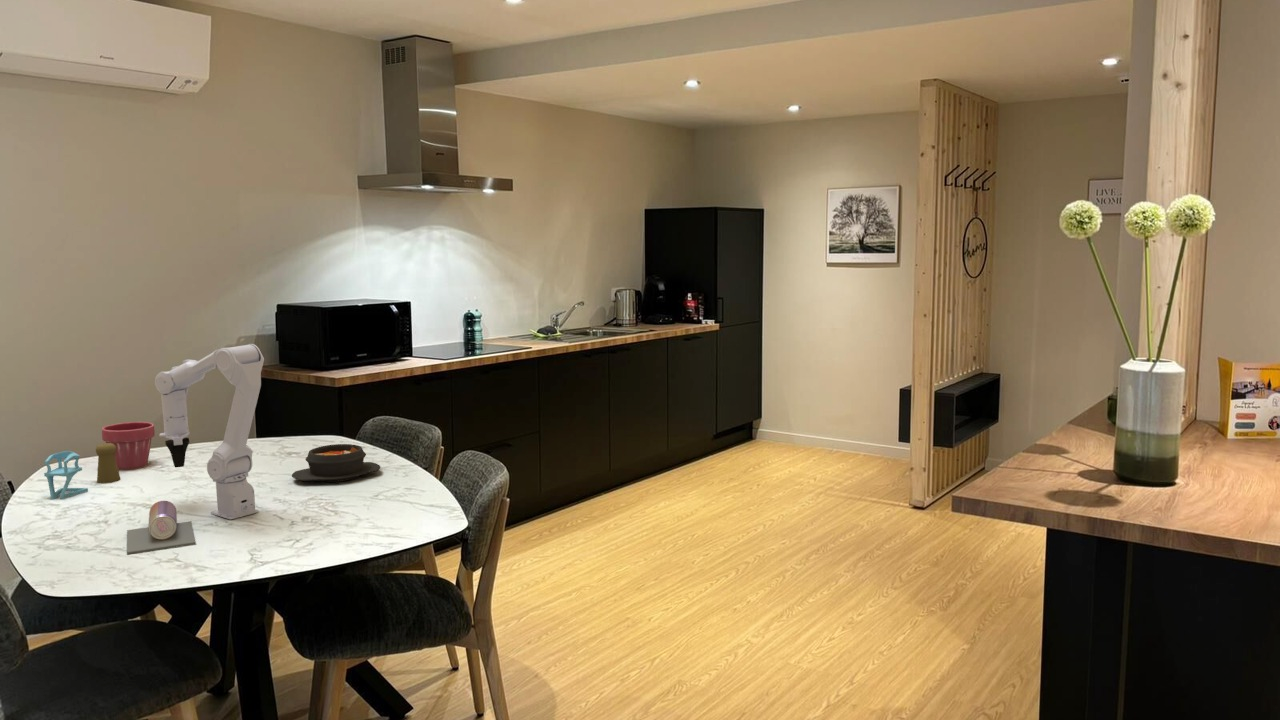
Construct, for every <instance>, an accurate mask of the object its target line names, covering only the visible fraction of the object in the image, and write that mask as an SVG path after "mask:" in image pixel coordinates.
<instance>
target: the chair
mask: <svg viewBox="0 0 1280 720" xmlns="http://www.w3.org/2000/svg"><path fill="white" fill-rule="evenodd" d="M53 459H56V460H57V462H58V463H57V464H58V465H57V466H58V467H56V468H54V469H52V467H51V465H50V462H51V461H52V460H53ZM62 459H64V460H63V464H62ZM73 459H74V467H69V466H68V463H69V462H70V461H71V460H73ZM79 459H80V454H78V453H76V452H74V451H70V450H64V451H61V452H56V453H53V454H50V455H49V456H47V458H46V460H44V463H45V466H46V468H47V471H46V472H44V473H43V475H44V476H43V477H46V480H47V482H48V483H47V484H48V488H49V494H50V500H55V499H57V498H58V497H59V500H64V499H67V498H71V497H73V496H76V495H80V494H83V493H84V494H85V493H87V492H88V491H89V488H88V487H69V485H70V483H71V481H72V479H73V477H74V476H75V475H76V474H78V472H81V471H83V467H82V466H79ZM54 477H66V480H65V482H64V485H63V487H60V488H58V489H57V490H55V484H54ZM66 492H67V493H66Z"/></svg>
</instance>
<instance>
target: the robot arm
mask: <svg viewBox="0 0 1280 720" xmlns="http://www.w3.org/2000/svg"><path fill="white" fill-rule="evenodd" d="M264 363H265V358H264V355H263V354H262V352H261V350H260V348H259V347H258V346H257V345H256V344H254V343H248V344H245V345H238V346H231V347H222V348H219V349H215V350H214V351H213V352H212V353H209V354H208V355H206V356H204V357H202V358H201V359H200V360H197V359H196V360H195V359H190V358H189V359H184V360H182V364H180V365H176V366H173V367H171V370H169V371H168V370H167V371H160V372H159V373H157V374H156V375H155V379H154V385H155V389H156V390H157V391H158V393H159V394H160V395H161V397H160V398H161V407H162V421H163V432H161V433H159V435H158V436H159V438H166V439H168V440H165V441H164V443H165V445H166V447H167V449H168V450H169V453H170V456H171V459H172V462H173V466H174V468H176V469H177V468H184V467H185V463H186V452H187V449H188V446H189V444H190V439H189V437H188V436H189V435H190V434H191V433H190V429H189V420H188V418H189V416H188V405H187V397H188V395H189V392H188V390H189V389H190V386H193V384H196V383H198V382H200V381H202V380H203V379H205V376H206V373H208V372H211V371H213V370H214V369H215V370H216V369H218V371H219V372H220V374H222V375H223V377H224V378H225V379H226V380H227V382H228V383H230V385H232V386H234V388H235V391H234V394H233V398H232V402H231V407H230V411H229V415H228V420H227V424H226V427H225V433H224V436H223V439H222V440H223V441H222V443H220V445H218V447H216V448H215V449H214V450H213V452H212V456H211V457H210V459H208V462H207V464H206V471H207V474H208V475H209V478H211V480H212V482H215V490H216V491H215V492H216V503H217V509H216V510H212V511H210V514H211V515H215V516H218V517H221V518H225V519H227V520H234V519H239V518H242V517H245V516H249V515H254V514H256V513H259V512H260V510H259V509H257V508H256V499H255V489H254V487H253V486H252V484H251V483H249V482H248V480H247V478H248V477H249V472H251V471H252V467H253V453H254V451H253V449H251V447H250V446H249V445H248V439H249V436H250V431H251V427H252V424H253V419H254V415H255V411H256V408H257V404H258V399H259V394H260V391H261V387H262V374H261V373H262V370H263V366H264Z"/></svg>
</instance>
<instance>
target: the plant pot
mask: <svg viewBox="0 0 1280 720" xmlns="http://www.w3.org/2000/svg"><path fill="white" fill-rule="evenodd" d="M155 433H156V432H155V424H154V423H152V422H148V421H128V422H127V421H126V422H120V423H119V422H118V423H114V424H109V425H105V426H103V427H102V428H101V439H102V441H103V442H105V443H112V444H114V445H115V446H116V453H115V459H116V463H117V467H118V471H119V470H121V471H123V470H124V471H128V470H136V469H141V468H144V467H146V466H147V465H148V463H149V459H150V452H151V445H152V438H154V437H155Z"/></svg>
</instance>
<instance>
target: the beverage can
mask: <svg viewBox="0 0 1280 720" xmlns="http://www.w3.org/2000/svg"><path fill="white" fill-rule="evenodd" d="M177 512H178V511H177V508H176V506H175V504H174V503H172V502H171V501H169V500H160V501H157V502H155V503H154V504H153V505H152V506H151V507H150V509H149V513H148V514H149V515H148V523H147V524H148V526H147V527H148V530H149V533H150V534H151V535H152V536H153V537H154V538H156V539H161V540H162V539H167V538H169V537H171V536H172V535H173V534H174V533H175V531H176V529H177V523H178V517H177V516H178V513H177Z"/></svg>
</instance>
